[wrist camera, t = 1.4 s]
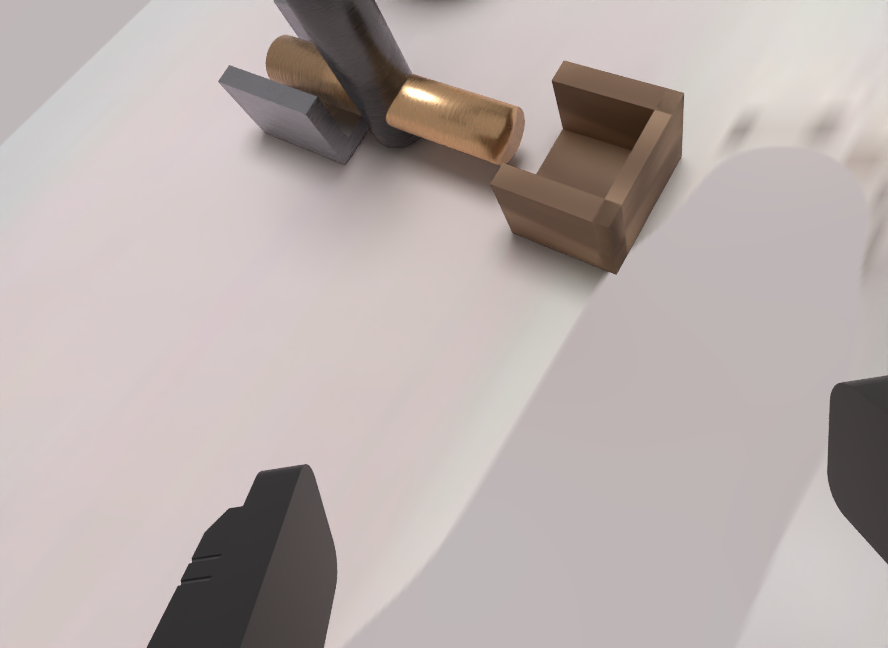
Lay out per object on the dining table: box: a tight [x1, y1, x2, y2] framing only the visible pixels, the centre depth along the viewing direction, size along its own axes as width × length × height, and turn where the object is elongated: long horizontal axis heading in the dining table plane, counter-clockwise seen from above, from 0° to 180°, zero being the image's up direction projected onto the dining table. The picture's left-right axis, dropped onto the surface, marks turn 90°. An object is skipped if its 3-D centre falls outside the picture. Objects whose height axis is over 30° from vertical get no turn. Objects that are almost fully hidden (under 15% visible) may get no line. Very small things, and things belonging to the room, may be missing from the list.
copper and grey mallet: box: [266, 0, 525, 166], centre depth 32 cm, size 4×16×17 cm, turn 59°
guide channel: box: [218, 0, 369, 165], centre depth 40 cm, size 7×7×5 cm
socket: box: [490, 61, 684, 274], centre depth 33 cm, size 7×6×5 cm
